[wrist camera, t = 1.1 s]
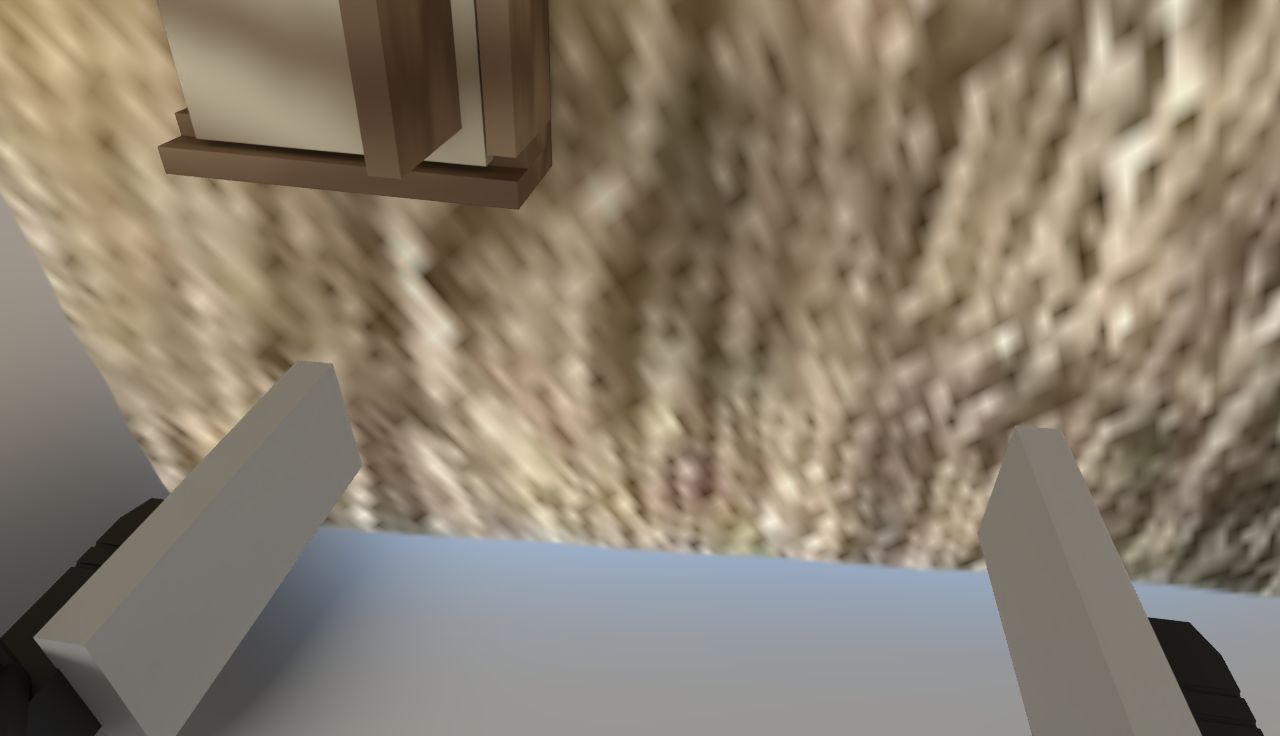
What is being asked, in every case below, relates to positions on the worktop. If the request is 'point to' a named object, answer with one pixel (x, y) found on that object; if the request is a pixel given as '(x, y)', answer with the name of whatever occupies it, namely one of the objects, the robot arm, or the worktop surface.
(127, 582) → the robot arm
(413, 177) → the walnut box
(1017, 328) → the worktop surface
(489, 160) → the cover plate
